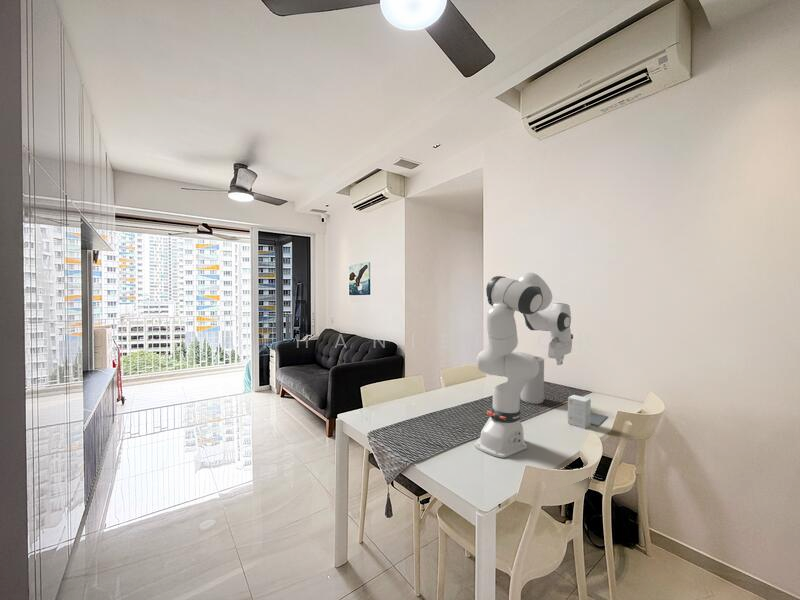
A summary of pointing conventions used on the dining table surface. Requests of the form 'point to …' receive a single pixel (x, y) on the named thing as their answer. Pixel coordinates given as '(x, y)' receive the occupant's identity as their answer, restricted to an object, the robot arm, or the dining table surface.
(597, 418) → the mat
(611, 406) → the dining table surface
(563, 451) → the dining table surface
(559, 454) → the dining table surface
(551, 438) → the dining table surface
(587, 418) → the small box
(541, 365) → the cylinder vase
